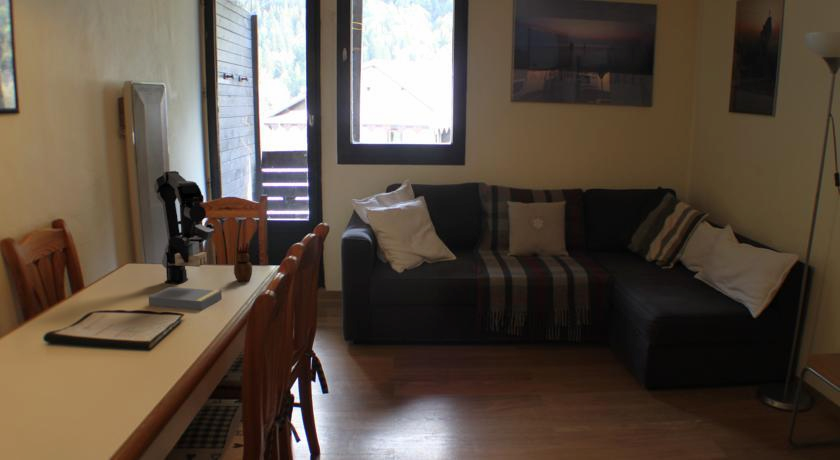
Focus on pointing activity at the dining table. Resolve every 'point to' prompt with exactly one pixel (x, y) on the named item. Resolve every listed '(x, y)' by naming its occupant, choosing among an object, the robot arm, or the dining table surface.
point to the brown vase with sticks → (243, 265)
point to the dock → (185, 298)
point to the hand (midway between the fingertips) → (191, 260)
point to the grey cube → (194, 247)
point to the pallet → (192, 259)
